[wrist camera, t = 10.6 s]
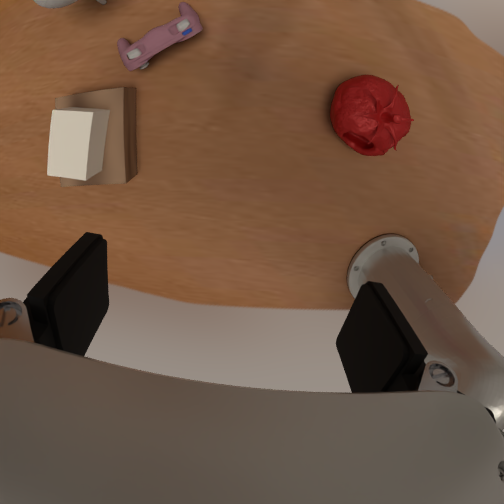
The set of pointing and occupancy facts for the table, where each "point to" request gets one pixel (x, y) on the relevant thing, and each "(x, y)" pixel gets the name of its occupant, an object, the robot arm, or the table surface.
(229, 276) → the table surface
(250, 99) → the table surface
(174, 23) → the video game controller
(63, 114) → the cream block
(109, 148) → the walnut block
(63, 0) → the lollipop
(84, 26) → the table surface
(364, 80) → the pomegranate
